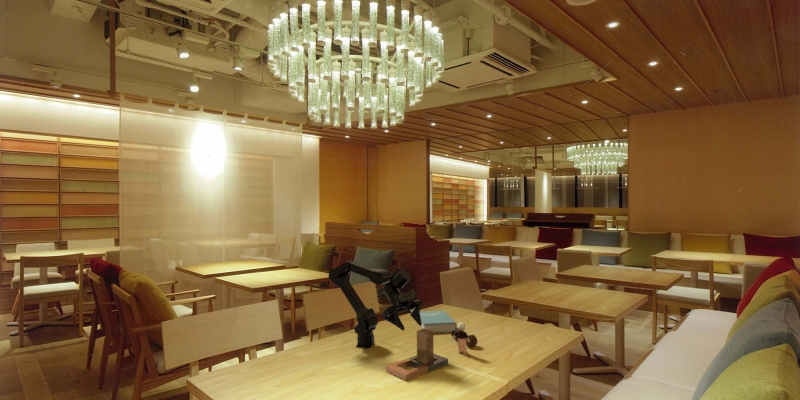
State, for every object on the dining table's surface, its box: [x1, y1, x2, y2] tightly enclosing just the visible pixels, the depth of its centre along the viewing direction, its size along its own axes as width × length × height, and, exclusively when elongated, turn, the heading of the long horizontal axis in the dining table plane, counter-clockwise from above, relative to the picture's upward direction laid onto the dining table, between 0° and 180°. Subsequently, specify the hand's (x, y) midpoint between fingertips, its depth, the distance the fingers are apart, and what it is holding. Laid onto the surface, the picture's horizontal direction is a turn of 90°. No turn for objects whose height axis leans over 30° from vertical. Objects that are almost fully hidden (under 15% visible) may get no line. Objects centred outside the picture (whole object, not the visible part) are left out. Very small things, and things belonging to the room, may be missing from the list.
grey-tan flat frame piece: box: [385, 353, 449, 381], centre depth 155 cm, size 22×11×2 cm, turn 131°
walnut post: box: [416, 328, 435, 365], centre depth 158 cm, size 4×4×13 cm
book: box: [419, 310, 458, 334], centre depth 209 cm, size 23×16×5 cm
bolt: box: [450, 329, 478, 349], centre depth 183 cm, size 6×5×15 cm
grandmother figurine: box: [452, 321, 470, 356], centre depth 169 cm, size 8×4×13 cm, turn 65°
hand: (412, 327), depth 163 cm, fingers open, 9 cm apart
